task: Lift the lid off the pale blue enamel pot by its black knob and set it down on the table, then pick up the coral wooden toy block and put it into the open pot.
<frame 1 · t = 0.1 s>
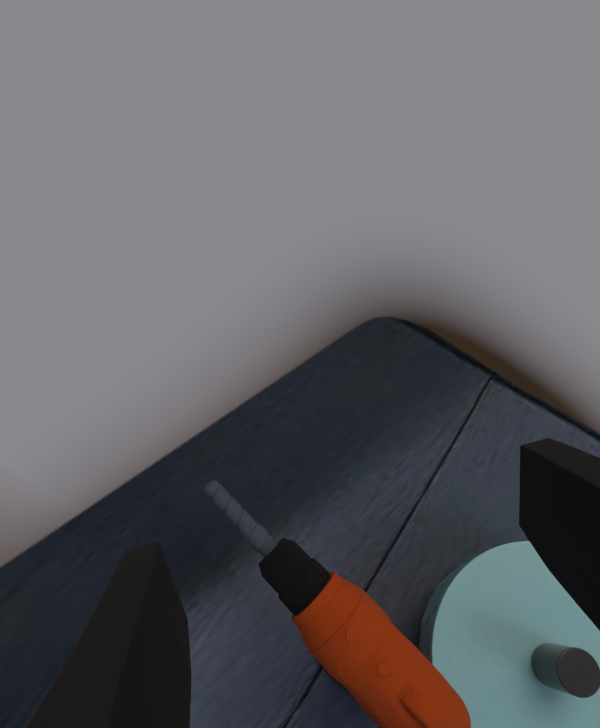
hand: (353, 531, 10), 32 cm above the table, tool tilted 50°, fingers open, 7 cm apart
lid: (547, 664, 32), point 5 cm above the table, touching pot
pot: (515, 655, 37), on the table
toy drill: (318, 606, 39), on the table
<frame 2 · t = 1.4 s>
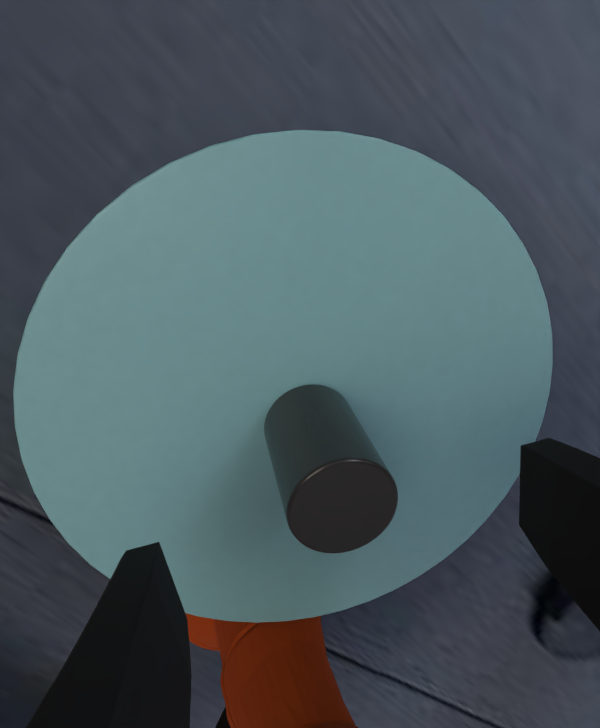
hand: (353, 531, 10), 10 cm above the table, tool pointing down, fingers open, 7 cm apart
lid: (304, 415, 15), point 5 cm above the table, touching pot
toy drill: (179, 625, 24), on the table
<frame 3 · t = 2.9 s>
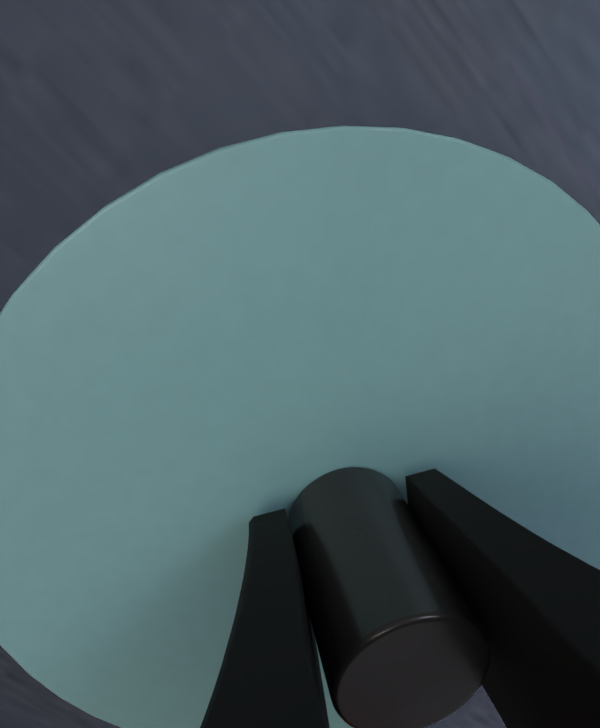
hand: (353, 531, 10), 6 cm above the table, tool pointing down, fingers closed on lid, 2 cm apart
lid: (338, 500, 11), point 5 cm above the table, touching gripper, pot
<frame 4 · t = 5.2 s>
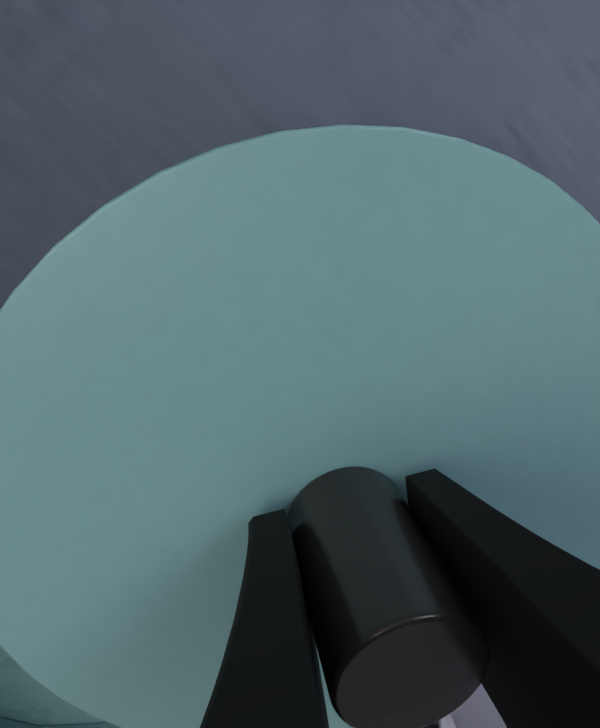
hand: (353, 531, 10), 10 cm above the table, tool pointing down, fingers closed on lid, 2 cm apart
lid: (338, 499, 11), point 9 cm above the table, touching gripper
pot: (81, 615, 22), on the table
when the fingers open (2 cm above the table, at t = 7.5 s): lid stays where it is, point 1 cm above the table.
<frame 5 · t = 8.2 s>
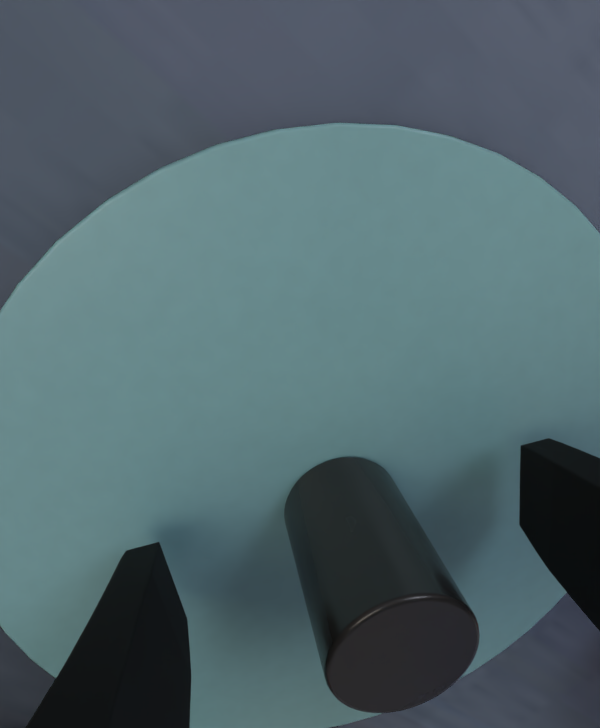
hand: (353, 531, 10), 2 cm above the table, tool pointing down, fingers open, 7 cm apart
lid: (334, 489, 11), point 1 cm above the table
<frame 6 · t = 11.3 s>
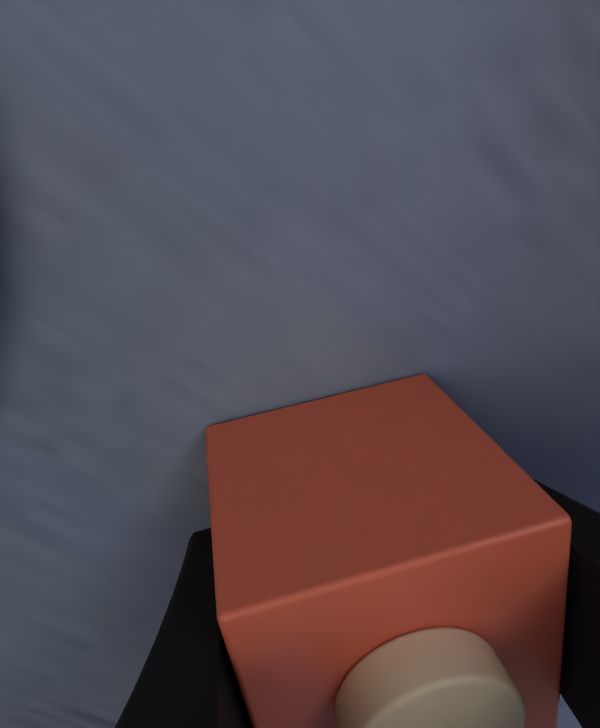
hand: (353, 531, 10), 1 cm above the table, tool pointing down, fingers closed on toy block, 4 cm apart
toy block: (333, 488, 11), on the table, touching gripper
when the fingers open (2 cm above the table, at t = 18.7 s): toy block stays where it is, resting on pot.
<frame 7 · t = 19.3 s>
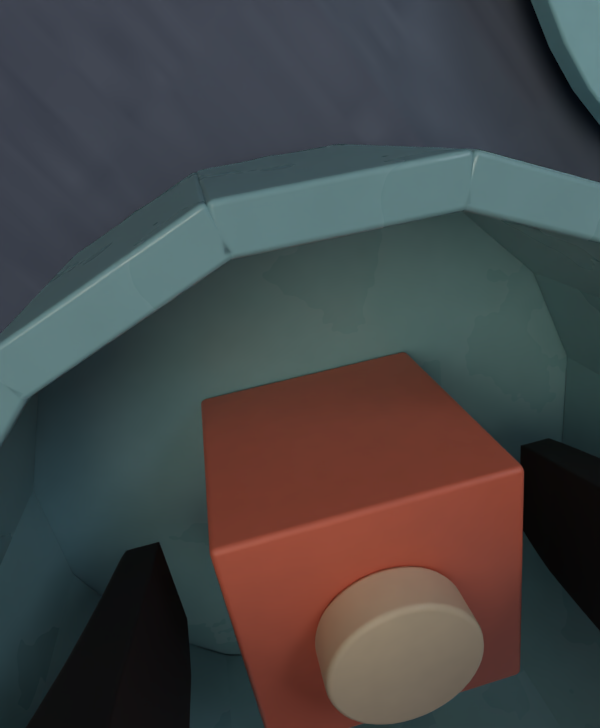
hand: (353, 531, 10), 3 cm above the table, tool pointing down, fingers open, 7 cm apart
pot: (319, 453, 13), on the table
toy block: (320, 460, 12), resting on pot
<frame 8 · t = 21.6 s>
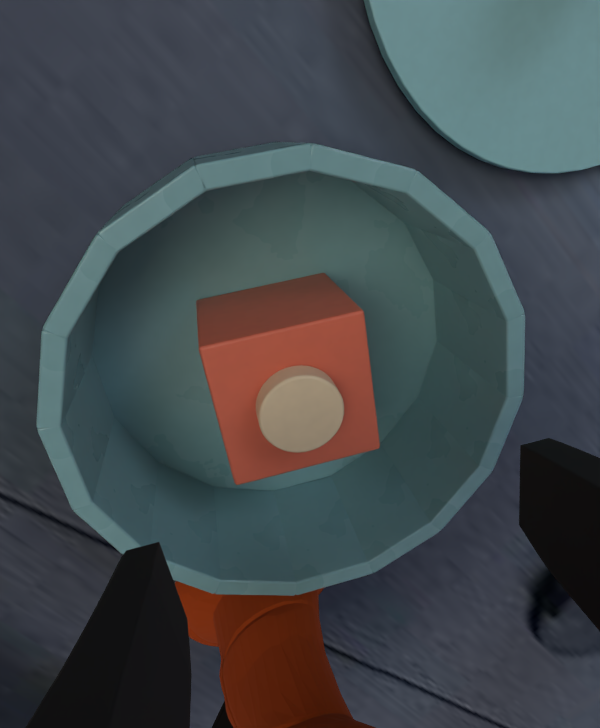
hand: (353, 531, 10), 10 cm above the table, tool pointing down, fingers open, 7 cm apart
pot: (273, 343, 20), on the table
toy drill: (179, 621, 24), on the table
toy block: (273, 345, 19), resting on pot
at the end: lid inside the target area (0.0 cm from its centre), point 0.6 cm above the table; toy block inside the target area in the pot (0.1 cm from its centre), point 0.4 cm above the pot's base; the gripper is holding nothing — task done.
